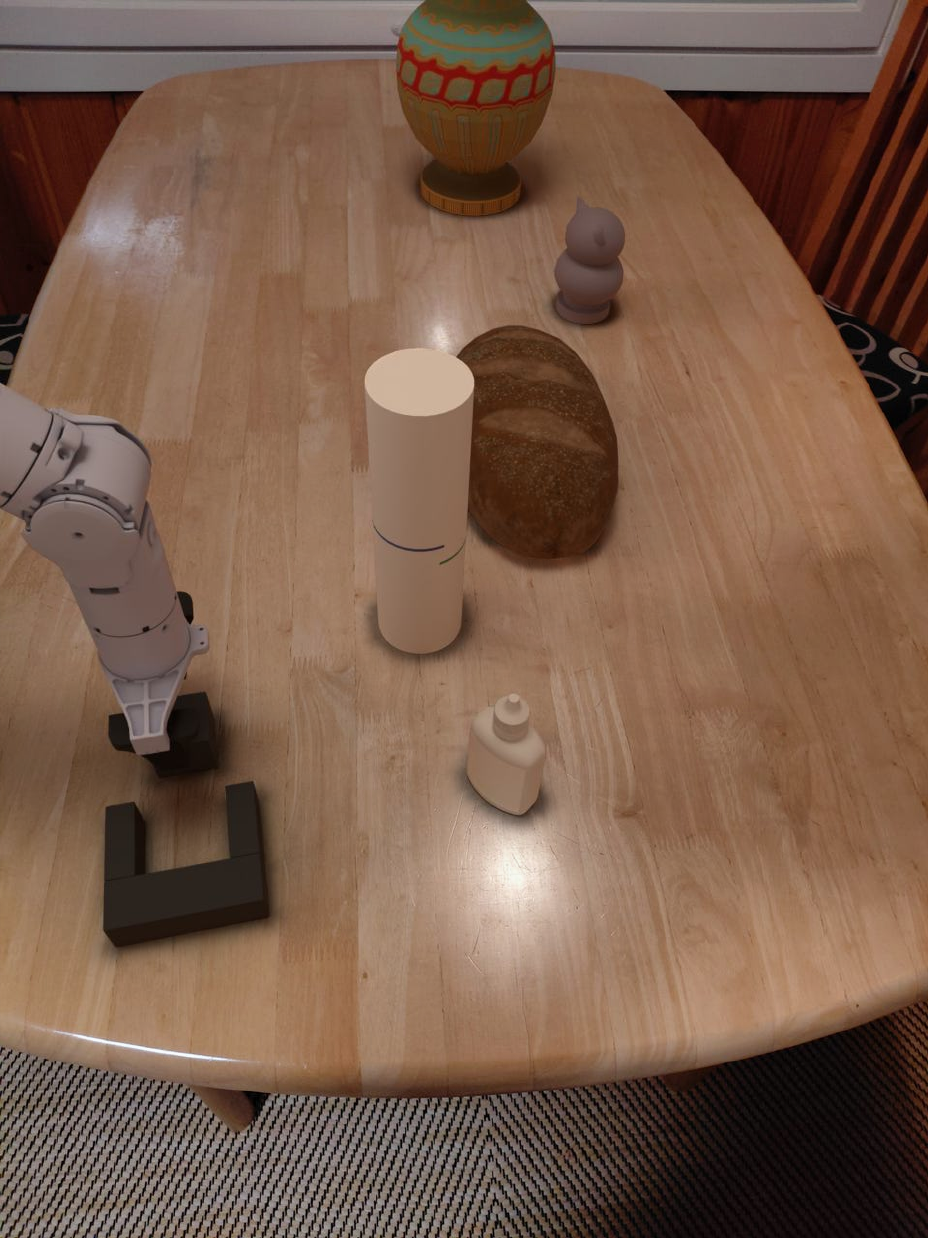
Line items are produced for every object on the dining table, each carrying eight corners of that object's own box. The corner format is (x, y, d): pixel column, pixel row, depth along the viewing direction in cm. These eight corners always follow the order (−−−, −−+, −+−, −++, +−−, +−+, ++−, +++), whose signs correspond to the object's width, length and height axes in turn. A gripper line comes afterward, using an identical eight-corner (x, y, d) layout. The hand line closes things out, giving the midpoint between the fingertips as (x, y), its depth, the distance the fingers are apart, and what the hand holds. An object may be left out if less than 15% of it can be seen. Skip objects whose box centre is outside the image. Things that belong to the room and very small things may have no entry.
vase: (546, 163, 134) (572, -93, 110) (538, 234, 121) (566, -37, 98) (409, 151, 134) (406, -105, 111) (387, 220, 122) (379, -52, 99)
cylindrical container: (369, 598, 81) (353, 357, 62) (447, 581, 83) (455, 341, 63) (390, 662, 77) (379, 424, 58) (472, 643, 79) (488, 405, 59)
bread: (469, 578, 83) (475, 484, 74) (427, 377, 101) (428, 282, 92) (637, 563, 85) (662, 469, 76) (567, 368, 103) (581, 275, 94)
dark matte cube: (158, 778, 70) (145, 750, 67) (157, 729, 72) (145, 700, 69) (218, 768, 70) (208, 740, 67) (214, 719, 73) (205, 690, 70)
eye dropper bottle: (487, 828, 68) (498, 742, 59) (461, 764, 71) (467, 673, 62) (542, 810, 69) (561, 723, 60) (514, 748, 72) (528, 656, 63)
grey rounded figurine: (627, 324, 109) (647, 227, 100) (564, 333, 107) (578, 235, 98) (600, 285, 114) (617, 188, 105) (540, 293, 112) (551, 196, 103)
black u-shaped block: (114, 947, 62) (102, 931, 59) (116, 825, 67) (105, 806, 65) (269, 917, 63) (264, 899, 61) (258, 800, 69) (253, 780, 67)
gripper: (201, 685, 54) (235, 797, 64) (191, 511, 63) (223, 635, 73) (73, 705, 53) (130, 816, 63) (81, 524, 61) (130, 648, 72)
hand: (173, 720), depth 68 cm, fingers open, 7 cm apart
